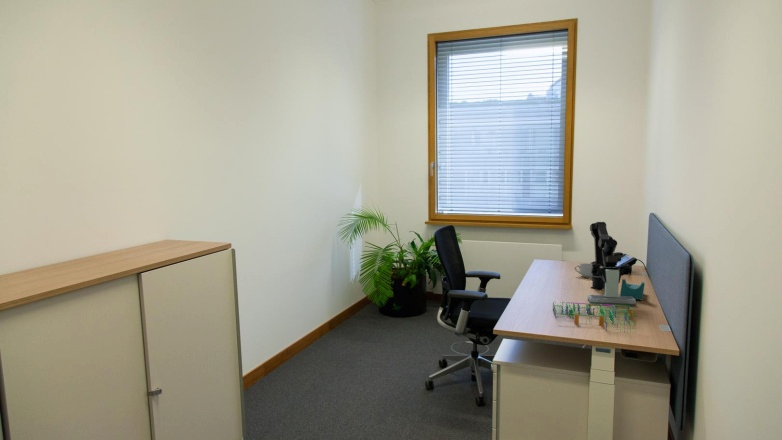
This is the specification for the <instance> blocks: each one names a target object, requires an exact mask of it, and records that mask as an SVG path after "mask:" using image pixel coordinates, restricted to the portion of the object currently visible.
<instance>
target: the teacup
mask: <svg viewBox="0 0 782 440" xmlns="http://www.w3.org/2000/svg"><path fill="white" fill-rule="evenodd" d="M592 264H593V263H587V262H585V263H584V262H583V263H580V264H576V265H574V268H573V269H574V271H575V272H576V273H578V274H580V275H581V277H583V278H587V279H592V278H591V267H592ZM577 267H578V269H579V270H577ZM593 276H594V275H593Z"/></svg>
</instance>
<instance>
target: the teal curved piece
mask: <svg viewBox="0 0 782 440" xmlns="http://www.w3.org/2000/svg"><path fill="white" fill-rule="evenodd" d="M621 280H622V281H621V287H620V294H619V296H632V297H633V298H634V299H635V300H640V301H643V297H644V291H645V281H641V284H640V285H638V284H633V283H632V284H631V283H627V281H626V278H622V279H621Z"/></svg>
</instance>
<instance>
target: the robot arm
mask: <svg viewBox="0 0 782 440" xmlns="http://www.w3.org/2000/svg"><path fill="white" fill-rule="evenodd" d="M589 232H590V235H591V237H592V238H593V241H594V243H593V244H594V263H591V264H592V267H591V278H590V279H592V283H591V285H592V286H590V288H591V289H594V290H598V291H602V290H605V283H606V276H605V273H606V269H611V270H619V284H620V281H621V280H622V279H621V277H622V276H625V275H629V274H630V272H631V269H632V267H631V266H630V265H629V264H621V266H620V267H619V266H618V263H619V262H622V255H621V254H616V255H615V251H616V249H617V246H618V241H617V240H616V239H614V238H613V237H612V236H611V235H609V233H608V230H607V223H606V222H605V221H597V222H593V223H591V224H590V226H589ZM593 275H594V276H593Z"/></svg>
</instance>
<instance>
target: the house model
mask: <svg viewBox="0 0 782 440" xmlns="http://www.w3.org/2000/svg"><path fill="white" fill-rule="evenodd" d="M561 303H562V304H555V301H552V312H553V315H554V318H556V319H557V315H559V317H560V318H561V317H562V316H568V317H569V319H572V320H574V324H575V325H579V324H582V325H583V324H584V325H585V324H586V325H587V324H589V325H591V318H592V317H594V318H598V326H602V327H603V328H605V332H608V331H607V329H608V328H611V327H610V325H611V326H612V324H614V323H616V326H614V329H619V333H621V332H622V333H623V331H624V333H625V332H627V333H628V330H630V331H629V333H631V331H632V330H634V329H635V332H634V333H635V334H636V333H637V330H636V327H635V328H634V326H636V325H637V323H636V322H632V325H631V322H630V321H631V320H633V317H636V314H634V312H633V308H632V307H631V306H626V305H610V306H609V305H607V304H600V305H598V304H590V303H589V302H587V303H583V302H572V305H571V302H569V301H568V302H565V301H561ZM564 304H565V306H564ZM584 305H585V306H584ZM593 306H594V307H593ZM596 306H597V307H596ZM610 307H611V308H610ZM617 307H618V308H617ZM622 307H624V308H622ZM618 309H619V310H618ZM586 311H587V312H586ZM576 312H578V313H576ZM581 312H584V314H581ZM590 313H592V314H590ZM595 313H596V315H595ZM597 313H598V315H597ZM620 313H623V314H621V317H623V321H619V315H617V314H620ZM579 314H580V315H579ZM571 316H572V317H571ZM580 317H589V318H588V321H586V323H584V322H579V319H580ZM607 317H608V318H607ZM614 317H615V318H614ZM609 318H610V319H609ZM610 320H611V321H612V322H611V321H610ZM608 324H609V326H608ZM622 324H623V325H628V326H630V327H628V329H626V330H624V327H622V326H621V325H622ZM621 329H622V331H621Z"/></svg>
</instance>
